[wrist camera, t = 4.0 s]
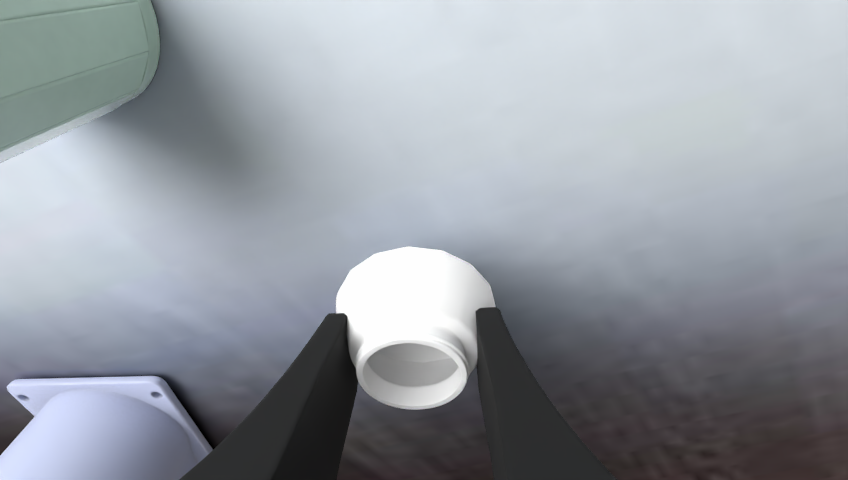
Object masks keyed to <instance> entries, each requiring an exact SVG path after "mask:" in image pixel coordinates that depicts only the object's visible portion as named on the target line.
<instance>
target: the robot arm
mask: <svg viewBox="0 0 848 480" xmlns="http://www.w3.org/2000/svg"><path fill="white" fill-rule="evenodd" d="M476 327H477V374H478V387H479V393H480V399H481V405H482V411H483V416H484V422H485V428H486V433H487V439H488V445H489V450H490V456H491V462H492V469H493V476H494V480H617V479H616V478H615V477H614V476H613V475H612V474H611V473H610V472H609V471H608V470H607V468H606V467H605V466H604V465H603V464H602V463H601V462H600V461H599V460H598V459H597V457H596V456H595V455H594V454H593V453H592V452H591V451H590V450H589V449H588V448H587V446H586V445H585V444H584V443H583V442H582V441H581V439H580V438H579V437H578V436H577V434H576V433H575V432H574V431H573V430H572V428H571V427H570V426H569V425H568V423H567V422H566V421H565V420H564V418H563V417H562V416H561V414H560V413H559V412H558V411H557V409H556V408H555V406H554V405H553V404H552V402H551V401H550V400H549V398H548V397H547V395H546V394H545V392H544V391H543V389H542V388H541V386H540V385H539V383H538V382H537V381H536V379H535V377H534V376H533V374H532V373H531V371H530V369H529V368H528V366H527V364H526V363H525V361H524V359H523V358H522V356H521V354H520V353H519V351H518V349H517V347H516V345H515V343H514V341H513V339H512V338H511V336H510V334H509V331H508V329H507V327H506V325H505V323H504V320H503V318H502V315H501V312H500V310H499V309H498V308H497V307H487V308H479V309H478V310H477V311H476ZM357 385H358V379H357V375H356V368H355V366H354V364H353V363H352V360H351V357H350V353H349V348H348V339H347V315H345V314H344V313H332V314H328V315H327V316H326V317H325V319H324V320H323V322H322V323H321V325H320V326H319V327H318V329H317V330H316V332H315V333H314V335H313V336H312V337H311V339H310V340H309V342H308V343H307V344H306V346H305V347H304V348H303V350H302V351H301V353H300V354H299V355H298V356H297V358H296V359H295V360H294V362H293V363H292V364H291V366H290V367H289V368H288V370H287V371H286V372H285V373H284V375H283V376H282V377H281V378H280V379H279V381H278V382H277V383H276V384H275V385H274V387H273V388H272V389H271V390H270V391H269V393H268V394H267V395H266V396H265V397H264V399H263V400H262V401H261V402H260V403H259V404H258V405H257V406H256V407H255V409H254V410H253V411H252V412H251V413H250V414H249V415H248V416H247V417H246V418H245V419H244V420H243V421H242V422H241V423H240V424H239V425H238V426H237V427H236V428H235V429H234V430H233V431H232V432H231V433H230V434H229V435H228V436H227V437H226V438H225V439H224V440H223V441H222V442H221V443H220V444H219V445H218V446H217V447H216V448H215V449H214V450H213V449H212V447H211V446H210V445H209V443H208V442H207V440H206V439H205V437H204V436H203V435H202V433H201V432H200V430H199V429H198V427H197V426H196V424H195V423H194V422H193V420H192V419H191V417H190V416H189V414H188V413H187V411H186V410H185V409H184V407H183V406H182V404H181V403H180V401H179V400H178V399H177V397H176V396H175V394H174V393H173V391H172V390H171V388H170V387H169V386H168V384H167V383H166V381H165V380H164V379H162V378H160V377H157V376H125V377H84V378H44V379H16V380H13V381H12V382H11V383H10V384H9V385H8V386H7V390H8V391H9V393H11V394H12V395H13V396H14V397H15V398H16V399H17V400H18V401H19V402H20V403H21V404H22V405H23V406H24V407H25V408H26V409H27V410H29V411H30V412H31V413H32V414H33V415H34V416H35V417H34V418H33V419H32V420H31V422H30V423H29V424H28V425H27V426H26V427H25V428H24V429H23V431H22V432H21V433H20V434H19V435H18V436H17V437H16V438H15V440H14V441H13V442H12V443H11V444H10V445H9V446H8V447H7V449H6V450H5V451H4V452H3V453H2V454H1V455H0V480H336V478H337V473H338V468H339V463H340V459H341V455H342V451H343V447H344V443H345V438H346V434H347V430H348V426H349V422H350V418H351V413H352V409H353V405H354V401H355V396H356V392H357Z"/></svg>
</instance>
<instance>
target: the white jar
mask: <svg viewBox="0 0 848 480" xmlns="http://www.w3.org/2000/svg"><path fill="white" fill-rule="evenodd" d="M487 307H496V305H495V302H494V298H493V294H492V290H491V286H490V284H489V283H488V282H487V281H486V280H485V279H484V278H483V276H482V275H481V274H480V273H479V272H478V271H477V270H476V269H475V268H474V267H473V265H472V264H470V263H468V262H466V261H464V260H461V259H459V258H457V257H455V256H453V255H451V254H449V253H447V252H444V251H442V250H434V249H425V248H416V247H403V248H399V249H394V250H390V251H385V252H381V253H376V254H374V255H372V256H371V257H369V258H368V259H366V260H365V261H363V262H362V263H360V264H359V265H357V266H356V267H354V268H353V269H351V270H350V272H349V274H348V276H347V277H346V279H345V281H344V283H343V284H342V286H341V288H340V289H339V291H338V294H337V297H336V313H344V314H345V315H347V339H348V348H349V353H350V357H351V360H352V363H353V364H354V366H355V368H356V375H357V379H358V382H359V384H360V385H361V387H362V388H363V389H364V391H365V392H366V393H368V394H369V395H370V396H371V397H373V398H374V399H376V400H378V401H380V402H382V403H384V404H386V405H389V406H393V407H397V408H402V409H428V408H433V407H437V406H440V405H443V404H445V403H447V402H449V401H451V400H453V399H454V398H455V397H457V396H458V395H459V394H460V393H461V392H462V390H463V389H464V387H465V385H466V382H467V380H468V378H469V374H470V373H471V372H472V371H473V370H474V369H475V368H476V366H477V327H476V311H477V310H478V309H479V308H487Z"/></svg>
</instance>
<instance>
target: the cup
mask: <svg viewBox="0 0 848 480" xmlns="http://www.w3.org/2000/svg"><path fill="white" fill-rule="evenodd" d="M159 55H160V37H159V28H158V23H157V19H156V15H155V12H154V9H153V6H152V3H151V0H0V163H2V162H4V161H6V160H8V159H10V158H12V157H15V156H17V155H19V154H21V153H23V152H25V151H27V150H30V149H32V148H34V147H36V146H38V145H40V144H43V143H45V142H47V141H49V140H51V139H53V138H55V137H58V136H60V135H62V134H64V133H66V132H68V131H70V130H73V129H75V128H77V127H79V126H81V125H83V124H86V123H88V122H90V121H92V120H94V119H96V118H98V117H101V116H103V115H105V114H107V113H109V112H111V111H113V110H115V109H117V108H118V107H119V106H120V105H122V104H124V103H126V102H128V101H130V100H132V99H134V98H136V97H137V96H138V95H140V94H141V93H142V92H143V91H144V90H145V89H146V88H147V86H148V85H149V84H150V82H151V80H152V79H153V77H154V75H155V72H156V69H157V66H158V61H159Z"/></svg>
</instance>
